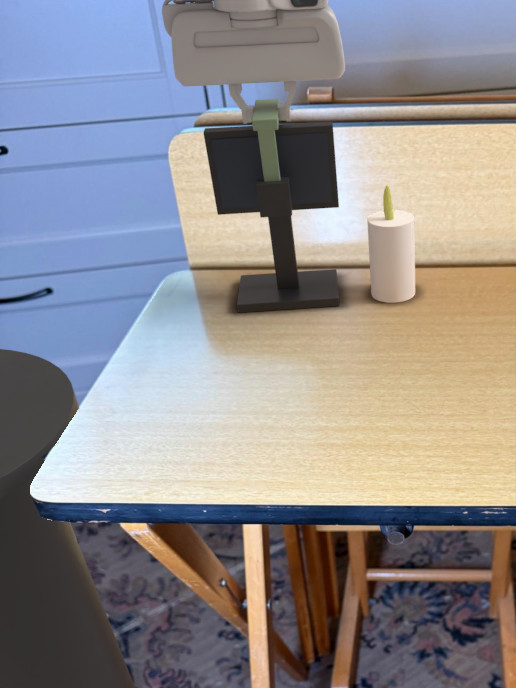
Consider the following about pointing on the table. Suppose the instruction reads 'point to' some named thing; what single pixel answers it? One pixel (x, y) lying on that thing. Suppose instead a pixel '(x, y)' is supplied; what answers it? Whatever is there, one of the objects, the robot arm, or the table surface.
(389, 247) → the candle
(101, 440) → the table surface
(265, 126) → the headphones
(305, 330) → the table surface
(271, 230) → the monitor
